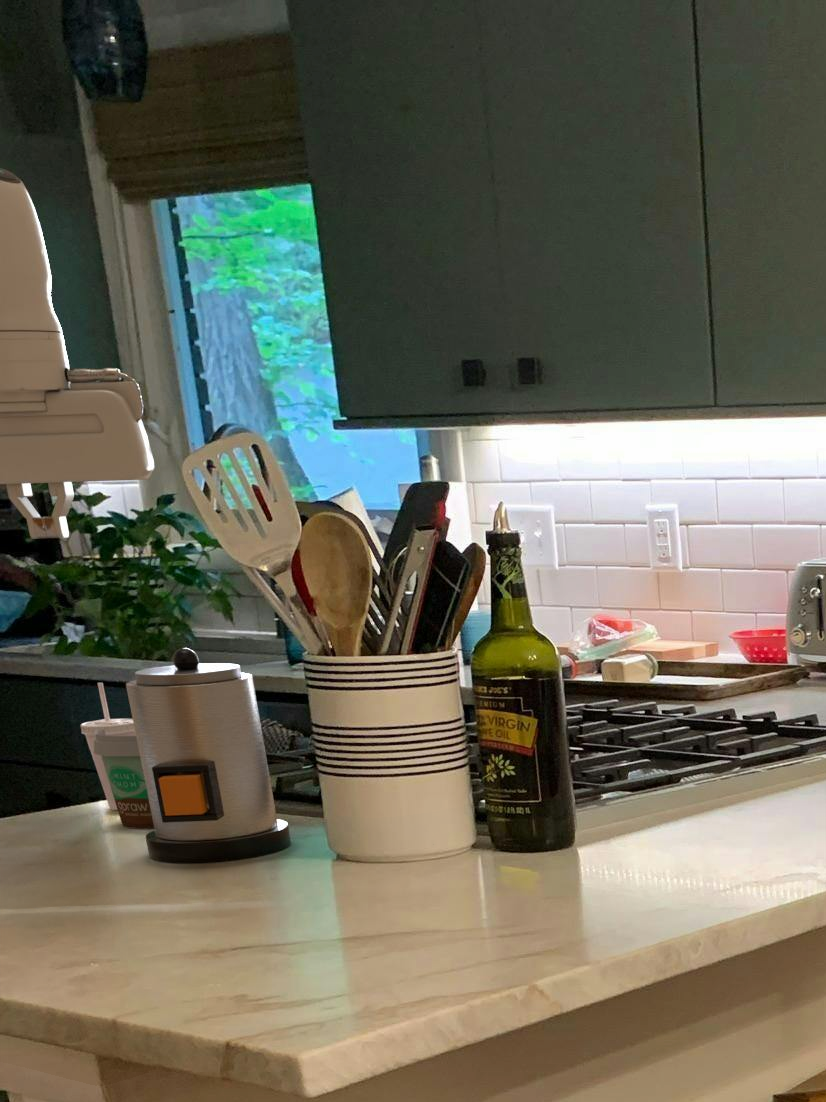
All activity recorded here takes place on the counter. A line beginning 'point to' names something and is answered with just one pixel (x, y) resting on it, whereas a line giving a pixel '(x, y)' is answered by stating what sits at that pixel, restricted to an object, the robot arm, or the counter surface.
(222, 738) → the kettle
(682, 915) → the counter surface
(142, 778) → the food container
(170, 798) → the switch
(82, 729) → the smoothie
